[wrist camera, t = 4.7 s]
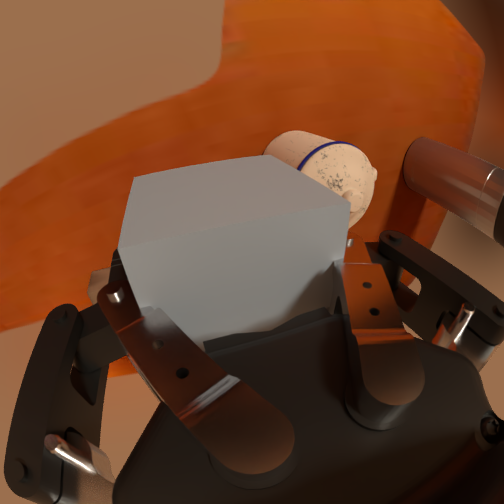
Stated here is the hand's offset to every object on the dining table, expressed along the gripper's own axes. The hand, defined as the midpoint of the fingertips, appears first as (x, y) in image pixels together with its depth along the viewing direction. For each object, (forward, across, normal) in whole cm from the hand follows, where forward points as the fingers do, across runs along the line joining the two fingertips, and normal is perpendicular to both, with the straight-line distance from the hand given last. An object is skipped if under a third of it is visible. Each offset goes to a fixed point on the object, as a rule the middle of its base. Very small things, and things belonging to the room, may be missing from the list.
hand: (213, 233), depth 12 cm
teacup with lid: (+18, -14, +3) cm, 23 cm away
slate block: (+1, 0, 0) cm, 1 cm away
